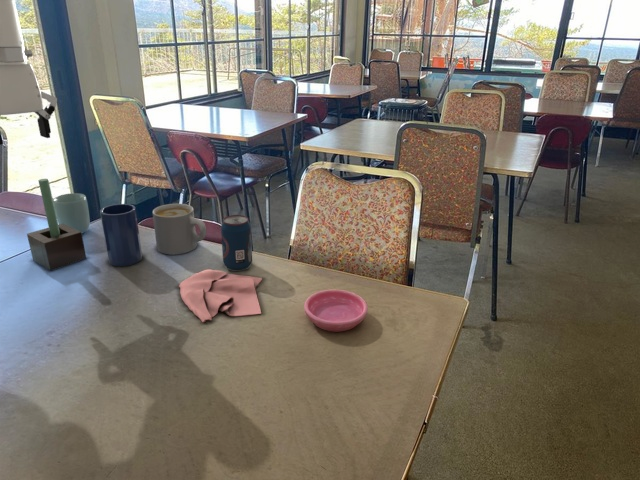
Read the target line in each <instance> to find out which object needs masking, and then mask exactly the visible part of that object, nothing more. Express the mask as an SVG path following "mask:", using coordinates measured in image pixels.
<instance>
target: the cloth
mask: <svg viewBox="0 0 640 480" xmlns="http://www.w3.org/2000/svg"><path fill="white" fill-rule="evenodd" d="M262 280H263V277H256V276H249V275H241V274H232V273H228V272H226V271H223V270H218V269H215V270H213V269H212V268H210V269H204V270H203V269H202V271H200V272H196V273H194V274H193V275H191V276H188V277H187V278H186V279H184V280H183V281H181V282H180V283H179V284H178V288H180V290H179V291H180V292H179V293H180V297H181V300H182V302H183V303H184V305H185V306H187V308H188V309H189V311H191V312H192V313H193V315H194V316H196V317H197V318H199V320H200V321H201V322H202V323H205V322H207V321H213V320H212V319H213V318H214V317H215V316H216V315H218V311H220V312H221V313H225V314H226V315H228V316H229V317H243V316H255V315H262V312H261V306H260V303H259V302H260V301H259V299H258V295H257V291H256V287H257V286H258V285H259V284H260V283H261V282H262Z"/></svg>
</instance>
